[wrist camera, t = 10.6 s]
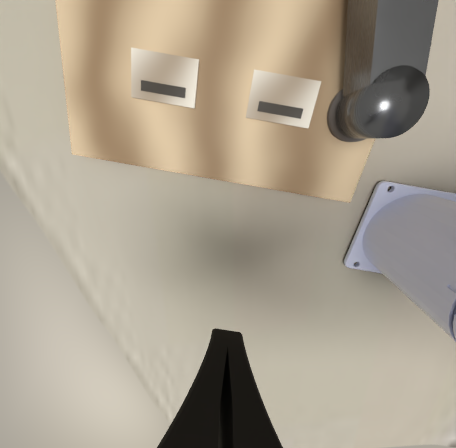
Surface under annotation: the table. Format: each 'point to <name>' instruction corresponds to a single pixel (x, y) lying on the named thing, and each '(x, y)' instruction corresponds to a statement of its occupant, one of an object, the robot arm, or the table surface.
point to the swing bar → (385, 67)
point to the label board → (213, 90)
